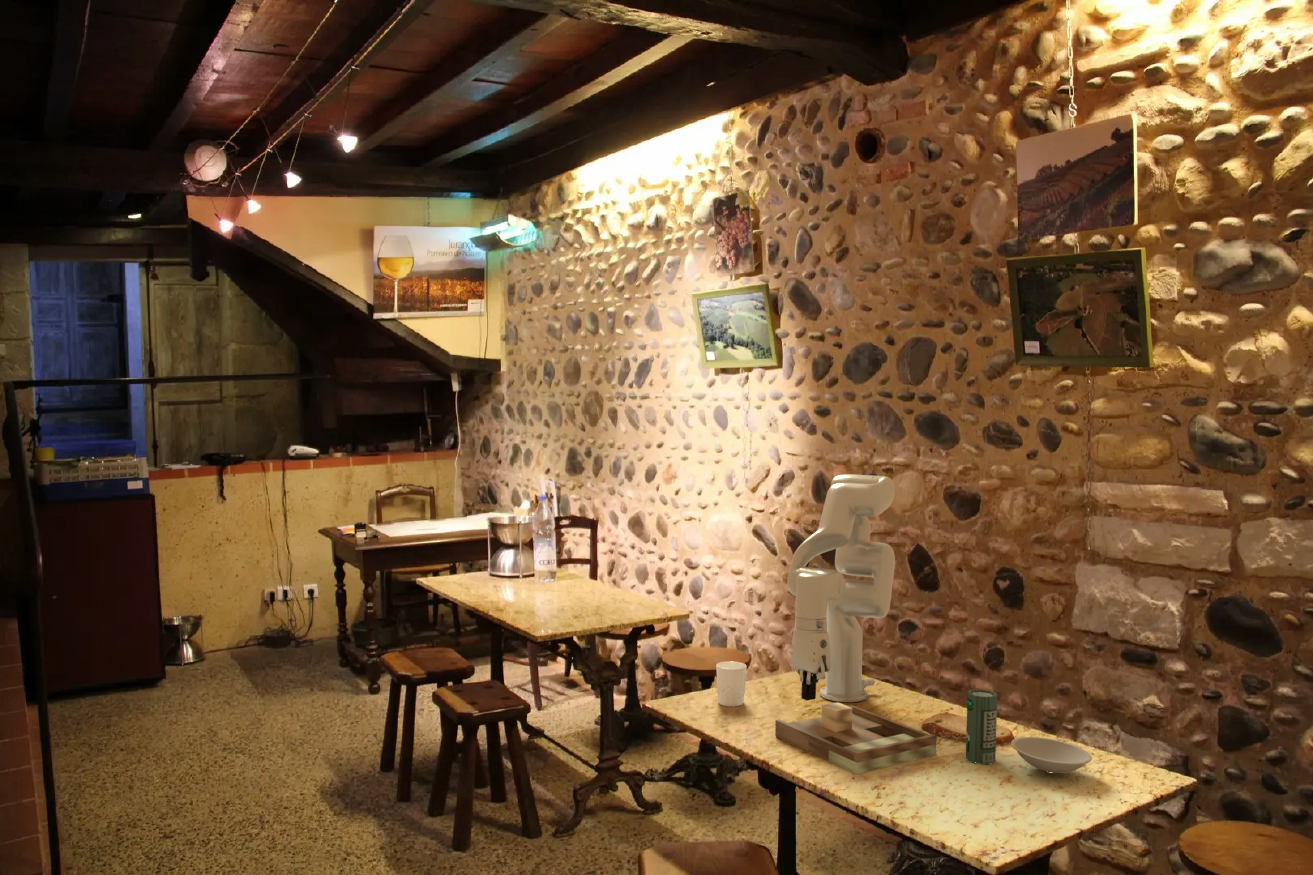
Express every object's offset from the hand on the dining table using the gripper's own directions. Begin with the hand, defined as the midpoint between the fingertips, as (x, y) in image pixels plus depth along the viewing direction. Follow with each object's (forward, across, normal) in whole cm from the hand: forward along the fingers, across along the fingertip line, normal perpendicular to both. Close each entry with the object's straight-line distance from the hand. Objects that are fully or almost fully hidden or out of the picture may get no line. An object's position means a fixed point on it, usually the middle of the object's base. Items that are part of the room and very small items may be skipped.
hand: (808, 698), depth 255 cm
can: (+7, -36, -19) cm, 42 cm away
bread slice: (+7, -22, -31) cm, 39 cm away
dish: (+7, -50, -26) cm, 57 cm away
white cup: (+7, +26, +5) cm, 27 cm away
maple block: (+5, -10, -1) cm, 11 cm away
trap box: (+7, -16, -1) cm, 17 cm away
